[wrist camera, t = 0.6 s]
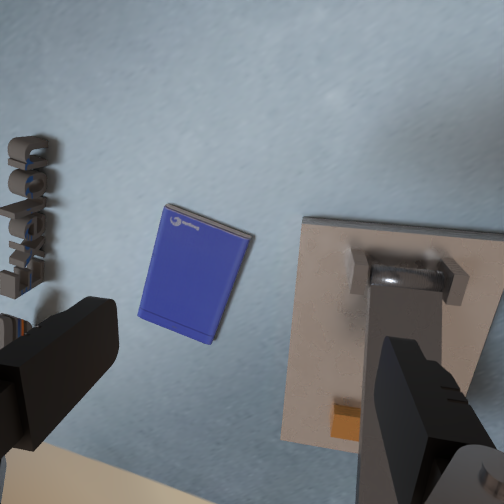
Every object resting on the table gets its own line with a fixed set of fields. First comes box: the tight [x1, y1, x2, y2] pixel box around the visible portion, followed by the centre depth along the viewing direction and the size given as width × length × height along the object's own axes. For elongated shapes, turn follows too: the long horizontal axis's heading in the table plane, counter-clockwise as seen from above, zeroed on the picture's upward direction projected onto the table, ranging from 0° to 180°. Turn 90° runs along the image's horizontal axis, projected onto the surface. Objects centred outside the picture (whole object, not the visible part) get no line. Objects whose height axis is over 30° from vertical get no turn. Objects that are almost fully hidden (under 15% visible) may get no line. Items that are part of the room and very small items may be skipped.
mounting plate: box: [280, 217, 504, 453], centre depth 31 cm, size 24×16×5 cm, turn 178°
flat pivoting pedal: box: [355, 264, 445, 504], centre depth 24 cm, size 19×5×2 cm
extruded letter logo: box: [0, 136, 48, 349], centre depth 34 cm, size 25×2×6 cm, turn 164°
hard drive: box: [137, 204, 252, 345], centre depth 34 cm, size 2×8×12 cm
